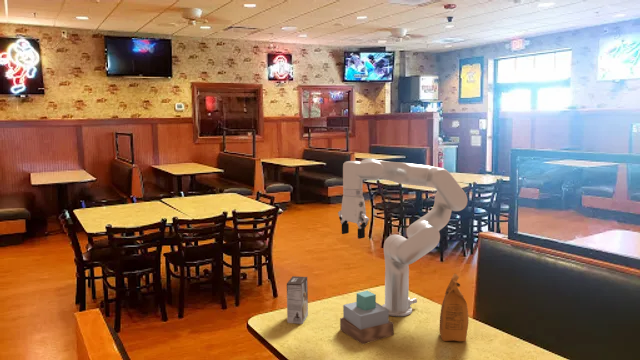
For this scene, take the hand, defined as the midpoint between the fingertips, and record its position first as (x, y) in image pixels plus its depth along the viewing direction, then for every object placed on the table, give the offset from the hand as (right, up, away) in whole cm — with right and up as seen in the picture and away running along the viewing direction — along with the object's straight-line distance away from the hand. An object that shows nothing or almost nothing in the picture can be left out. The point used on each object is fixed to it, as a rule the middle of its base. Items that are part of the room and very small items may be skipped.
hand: (353, 235), depth 192 cm
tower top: (+4, -30, -12) cm, 32 cm away
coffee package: (+35, -35, -15) cm, 52 cm away
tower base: (+4, -35, -12) cm, 37 cm away
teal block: (+4, -25, -12) cm, 28 cm away
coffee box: (-22, -33, +1) cm, 40 cm away
